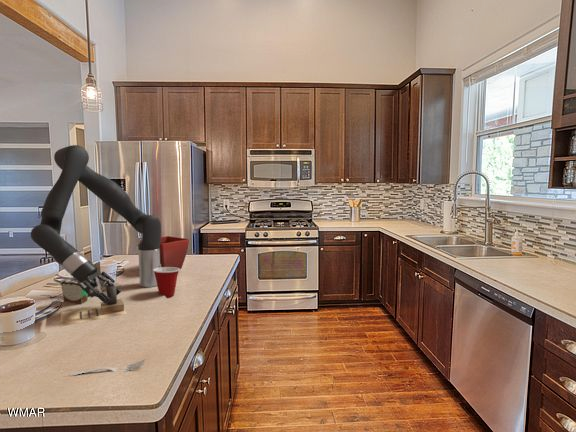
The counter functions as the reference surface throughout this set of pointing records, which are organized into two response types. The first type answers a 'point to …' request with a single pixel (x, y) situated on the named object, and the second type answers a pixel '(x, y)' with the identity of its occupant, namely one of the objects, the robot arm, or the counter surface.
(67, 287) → the food container
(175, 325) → the counter surface
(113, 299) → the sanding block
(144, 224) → the robot arm
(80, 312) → the oak board
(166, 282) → the plastic cup
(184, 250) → the plant pot
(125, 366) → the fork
